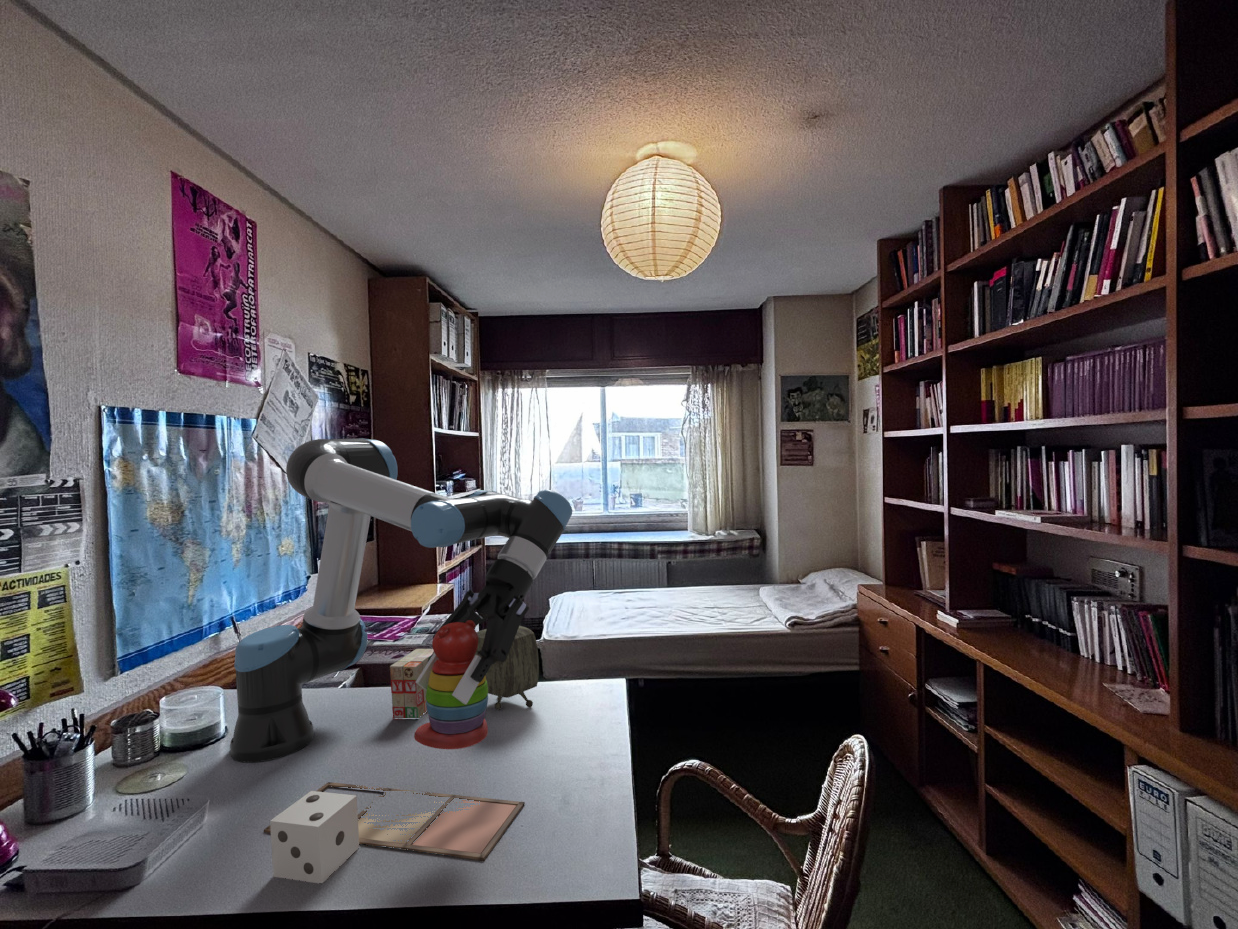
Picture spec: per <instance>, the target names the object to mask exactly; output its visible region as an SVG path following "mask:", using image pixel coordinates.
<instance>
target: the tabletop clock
mask: <svg viewBox="0 0 1238 929" xmlns="http://www.w3.org/2000/svg"><path fill="white" fill-rule="evenodd" d="M486 629H487V628H485V629H481V630H478V631H476V633H477V635H478V647H477V651H476V653H475V655H478V656H480V657H481V658H482V656H481V655H479V654H478V651H480V650H482V647H483V642H484V638H485V634H486ZM538 649H539V648H538V643H537V639H536V634H535V632H533V630H531V629H530V628H528V627H525V626H522V625H520V626H519V628H518V631H517V633H516V636H515V638H514V641H513V643H512V646H511V649H510V651H509V654H508V656H507V659H506V660H505V662H503V663H501V662H500V661H498V662H495V663H494V664H492V665H491V666H490V668H489V670H488V672H487V673H486V675H485V676H486V681H487V685H488V695H493V696H497V701H496V702H495V704H494V708H495V709H496V710H501V708H502V707H503V703H502V702H501V699H502V698H504V699H505V698H506V699H509V698H511V697H514V696H517V695H519V696H521V697H522V699H523V700H524V701H525V705H526V707H527V708H532V707H533V704H534V702H533V700H531V699H529V698H528V697H527V696H526V694H525V691H529V690H531V689H534V688H536V687H537V686H538V683H539V674H540V673H539V672H540V669H539V666H540V665H539V664H540V663H539V652H538ZM500 651H502V650H501V649H500ZM475 655H474V657H475Z"/></svg>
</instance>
